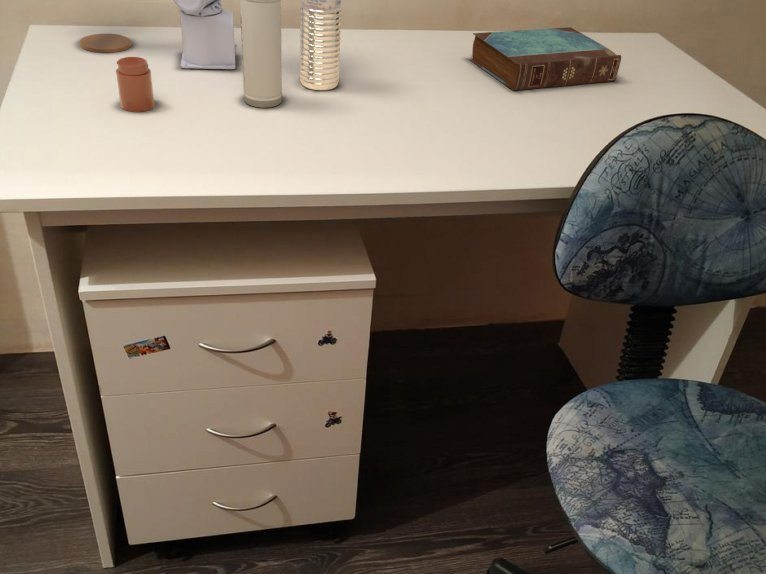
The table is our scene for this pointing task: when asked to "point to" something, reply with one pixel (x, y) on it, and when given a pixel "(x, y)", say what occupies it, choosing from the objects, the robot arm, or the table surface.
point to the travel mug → (261, 52)
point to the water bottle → (320, 43)
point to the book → (544, 58)
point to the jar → (135, 84)
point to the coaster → (105, 43)
